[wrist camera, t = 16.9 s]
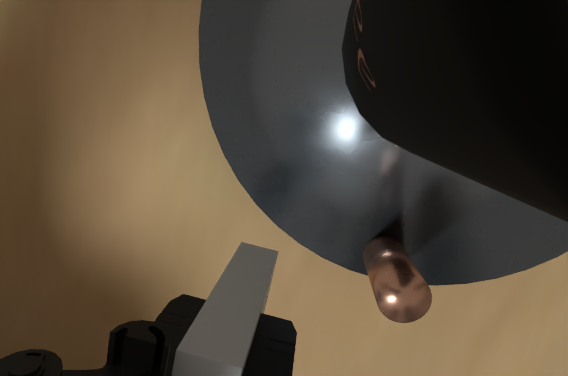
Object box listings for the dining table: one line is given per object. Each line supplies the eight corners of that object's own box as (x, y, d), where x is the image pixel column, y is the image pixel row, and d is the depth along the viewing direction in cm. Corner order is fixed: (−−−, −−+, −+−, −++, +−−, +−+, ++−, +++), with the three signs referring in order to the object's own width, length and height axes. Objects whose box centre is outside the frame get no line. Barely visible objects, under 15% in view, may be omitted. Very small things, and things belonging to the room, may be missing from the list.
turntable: (178, 216, 24) (122, 259, 17) (258, -268, 18) (222, -500, 11) (573, 313, 23) (683, 400, 16) (791, -167, 17) (1110, -354, 10)
